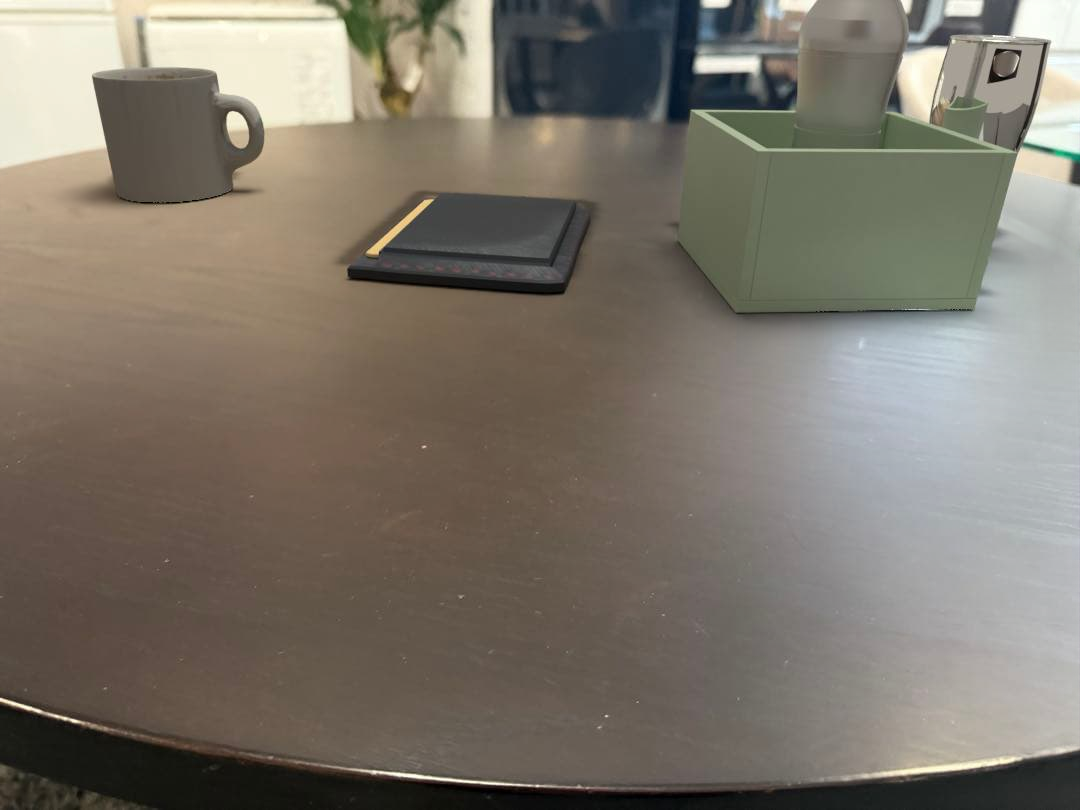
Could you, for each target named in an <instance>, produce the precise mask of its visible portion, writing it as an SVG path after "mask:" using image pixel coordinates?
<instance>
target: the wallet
mask: <svg viewBox="0 0 1080 810" xmlns="http://www.w3.org/2000/svg"><path fill="white" fill-rule="evenodd" d="M590 223H591V210H590V209H589V208H586V207H584V206H582V205H581V204H580V203H578V202H577V201H575V200H572V199H563V198H562V199H561V198H549V197H548V198H547V197H533V196H532V197H529V196H512V195H494V194H479V193H477V194H476V193H460V192H459V193H458V192H453V193H449V192H447V193H446V192H441V193H440V194H438V195H437V196H436V197H435V198H433V197H431V198H430V197H424V198H423V199H422V200H421V201H418V202H417V204H416V205H415V206H414V207H413V208H412V209H411V210H410V211H409V212H408V213H406V214H405V215H404V216H403V217H402V218H401V219H400V220H398V222H397V223H396V224H394V225H393V226H392V227H391V228H390V229H389V230H387V231H386V232H385V233H384V234H383V235H382V236H381V237H380V238H378V239H377V240H376V241H375V242H374V243H373V244H372V245H371V246H370V247H369V248H367V250H366V251H364V252H363V253H362V254H361V255H360V256H359V257H357V259H355V260H354V261H353V262H352V263H351V264H350V265H349V266H348V267H347V268H346V271H347V278H350V279H359V280H360V279H362V280H375V281H384V282H385V281H386V282H394V283H406V284H419V285H431V286H432V285H433V286H444V287H455V288H456V287H458V288H468V289H469V288H470V289H471V288H472V289H484V290H496V291H497V290H498V291H510V292H523V293H524V292H525V293H541V294H550V293H552V294H553V293H561V292H565V291H566V289H567V286H568V284H569V282H570V279H571V277H572V274H573V270H574V267H575V263H576V260H577V257H578V253H579V250H580V247H581V245H582V242H583V239H584V238H585V235H586V232H587V231H588V228H589V225H590Z"/></svg>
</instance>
